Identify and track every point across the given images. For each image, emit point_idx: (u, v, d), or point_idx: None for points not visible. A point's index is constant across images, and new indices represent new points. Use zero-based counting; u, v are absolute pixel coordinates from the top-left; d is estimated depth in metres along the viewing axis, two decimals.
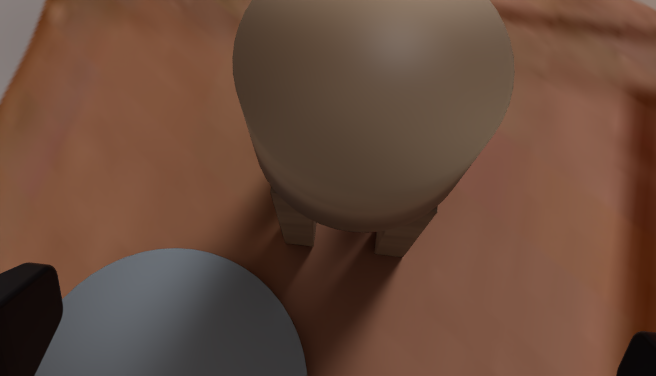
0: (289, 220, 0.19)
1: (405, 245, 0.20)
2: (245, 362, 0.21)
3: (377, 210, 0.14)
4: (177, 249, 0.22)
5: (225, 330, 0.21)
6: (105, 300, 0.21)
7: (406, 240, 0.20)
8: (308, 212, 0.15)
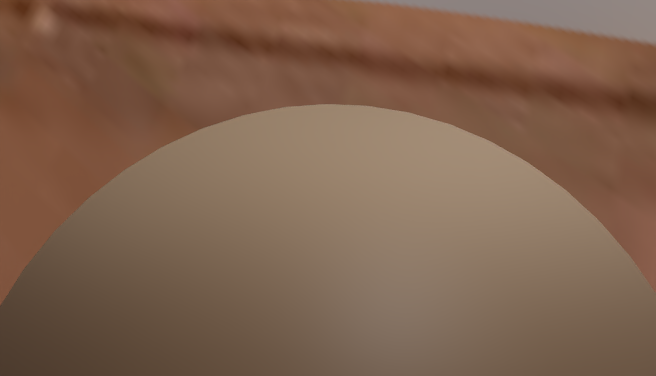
0: None
1: None
2: None
3: None
4: None
5: None
6: None
7: None
8: None
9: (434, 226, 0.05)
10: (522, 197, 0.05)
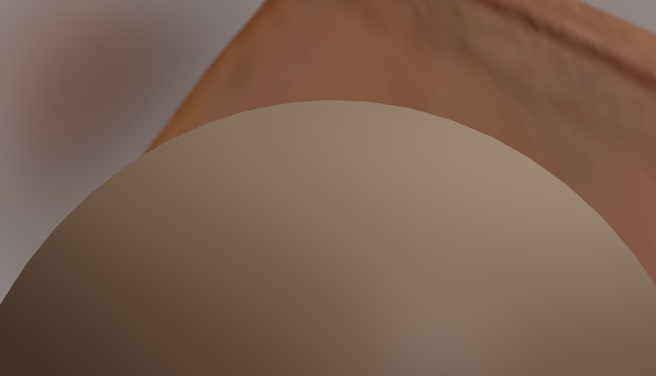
0: None
1: None
2: None
3: None
4: None
5: None
6: None
7: None
8: None
9: (437, 223, 0.05)
10: (524, 193, 0.05)
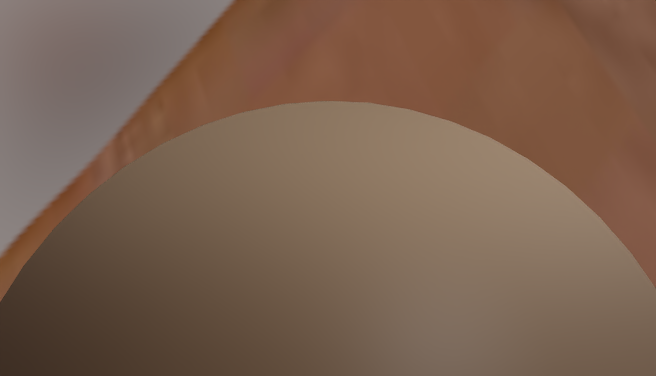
0: None
1: None
2: None
3: None
4: None
5: None
6: None
7: None
8: None
9: (435, 224, 0.05)
10: (523, 194, 0.05)
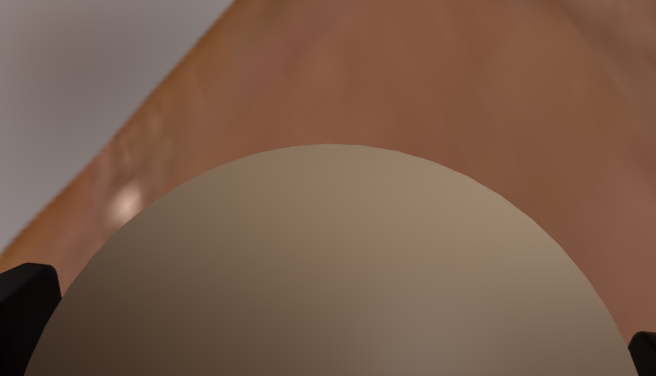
0: None
1: None
2: None
3: None
4: None
5: None
6: None
7: None
8: None
9: (419, 251, 0.06)
10: (495, 226, 0.06)
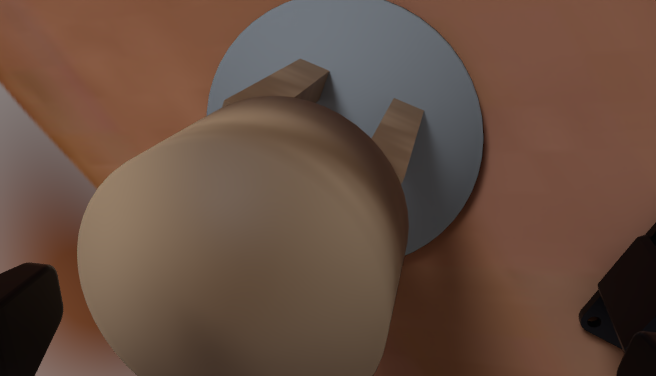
0: None
1: None
2: (367, 64, 0.19)
3: None
4: (230, 48, 0.20)
5: (328, 60, 0.20)
6: None
7: None
8: None
9: (137, 228, 0.11)
10: (127, 183, 0.10)
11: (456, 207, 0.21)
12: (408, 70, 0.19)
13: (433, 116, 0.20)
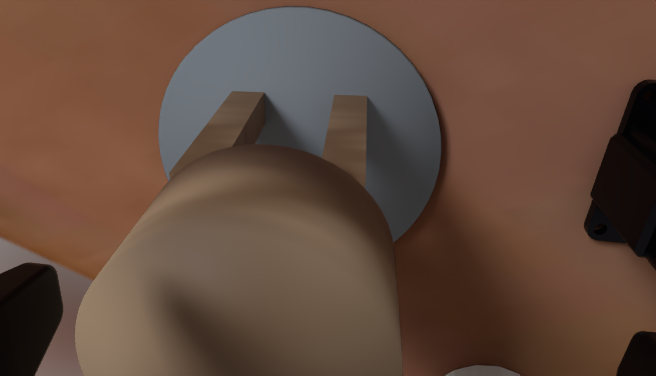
0: None
1: None
2: (296, 72, 0.19)
3: None
4: (162, 106, 0.20)
5: (259, 83, 0.20)
6: None
7: None
8: None
9: (130, 335, 0.11)
10: (103, 300, 0.10)
11: (432, 173, 0.21)
12: (337, 64, 0.19)
13: (378, 98, 0.20)
